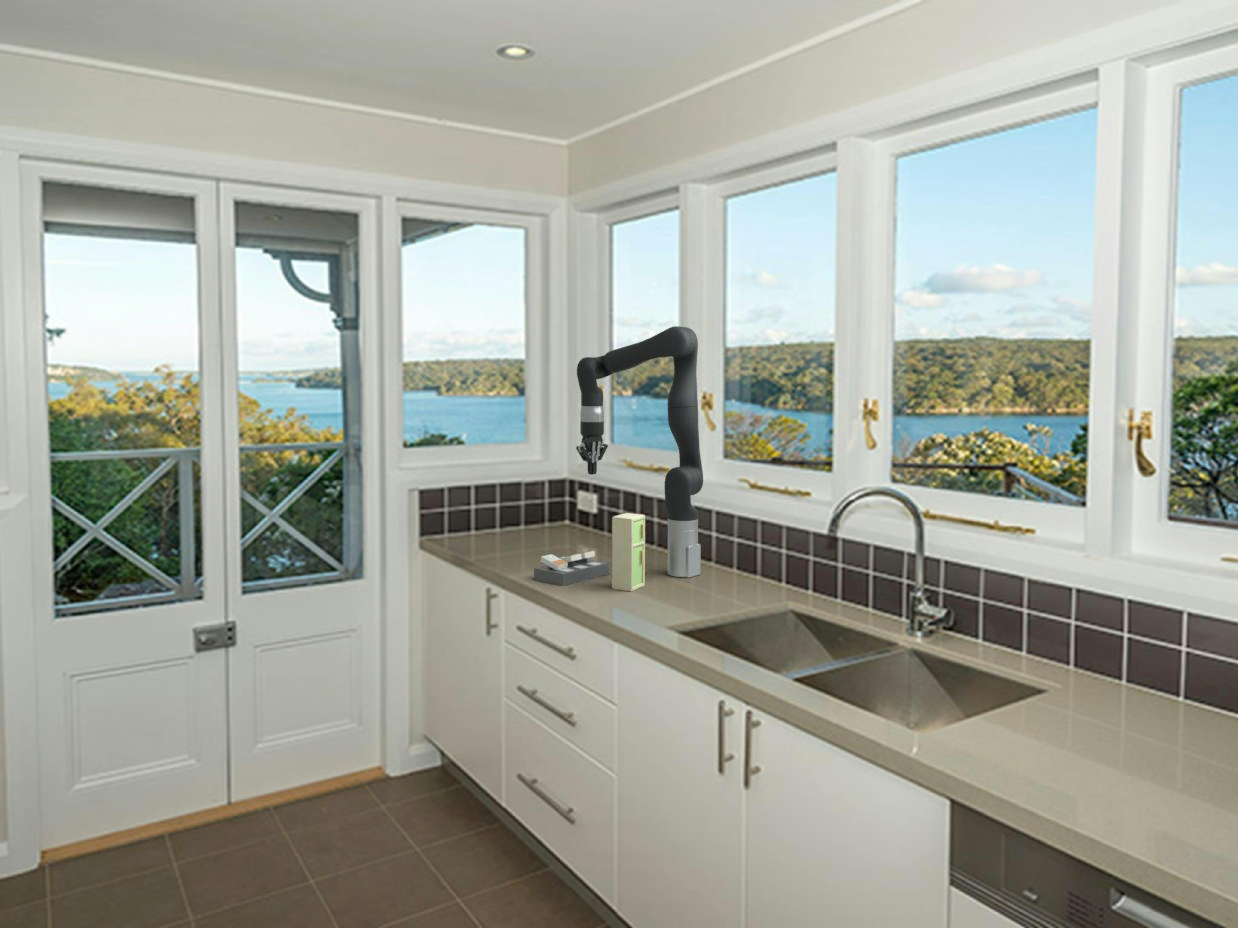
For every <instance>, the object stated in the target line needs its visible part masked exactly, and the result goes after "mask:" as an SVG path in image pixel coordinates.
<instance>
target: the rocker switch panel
mask: <svg viewBox="0 0 1238 928" xmlns="http://www.w3.org/2000/svg"><path fill="white" fill-rule="evenodd" d="M567 563H568V566H567V568H565V569H561V570H555V569H553V568H551V567H550V566H548V565H546V564H545V565H543V566H542V565H541V566H537V567H535V568H533V576H534V577H533V580H535V581H539V582H542V583H547V584H552V585H557V586H563V587H564V586H568V585H571V584H572V585H573V584H575V583H580V582H583V581H587V580H591V579H595V578H600V577H603V576H604V577H605V576H608V575H610V573H609V570H610V565H609V562H604V561H599V560H593V559H589V558H585V559H580V560H576V561H571V562H567Z"/></svg>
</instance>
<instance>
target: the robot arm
mask: <svg viewBox="0 0 1238 928" xmlns="http://www.w3.org/2000/svg"><path fill="white" fill-rule="evenodd" d="M698 342H699V341H698V337H697V334H696V333H695V331H694V330H693V329H691V328H690V327H687V326H678V325H677V326H676V325H675V326H670V327H668V328H666V329H665V330H663V331H661V332H659V333H657V334H655V335H653V336H651V337H649V338H647V339H644V340H641V341H638V342H636V343H632V344H629V345H626V346H622V347H618V348H615V349H612V350H610V351H607V352H606V353H605V354H604V355H601V356H597V357H596V356H593V357H592V356H591V357H590V356H586V357H583V358H581V359H580V360H579V362H578V364H577V366H576V376H577V377H576V378H577V381H578V382H577V383H578V387H579V390H580V395H581V396H580V402H581V403H580V405H581V406H580V414H579V415H580V424H579V425H580V427H579V429H580V431H579V432H580V436H582V438H581V444H580V445H577V446H576V448H575V449H576V451H577V452H578V454H579V456H580V458H581V459H582V462H583V461H584V462H586V463H587V474H588V475H590V476H591V475H597V471H598V467H597V466H598V465H597V464H598V462H599V461H602V460H603V458H604V455H605V453H606V451H607V449H608V447H609V445H608V444H605V442H604V439H603V436H604V434H605V411H604V391H603V389H602V388H601V387H599V386H598V380H601V379H604V378H606V377H607V378H608V377H609V376H611V375H613V374H615V373H620V372H623V371H627V370H630V369H633V368H636V367H638V366H640V365H641V364H644V363H646V362H648V361H652V360H654V359H660V358H669V357H670V358H672V357H673V358H672V359H673V368H674V370H673V371H674V373H673V379H672V383H671V387H670V389H669V392H668V393H669V394H668V397H667V422H668V428H669V429H670V432H671V434H672V436H673V439H674V441H675V443H676V446H677V449H678V457H679V466H676V467H672V468H671V469H669V470H668V471H667V473H666V475H665V478H664V501H665V502H664V506H665V510H666V513H667V575H669V576H671V577H675V578H677V577H678V578H692V577H696V576H699V575H701V560H702V559H701V551H702V550H701V549H702V548H701V547H702V546H701V543H699V511H698V509H697V508H695V507H693V506H692V499H691V497H692V496H695V495H697V494H698V493H700V492H701V490H702V488H703V486H704V472H703V465H702V459H701V450H700V433H699V432H700V431H699V429H700V428H699V403H698V383H697V382H698V381H697V380H698V379H697V365H698V349H699V343H698Z"/></svg>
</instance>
